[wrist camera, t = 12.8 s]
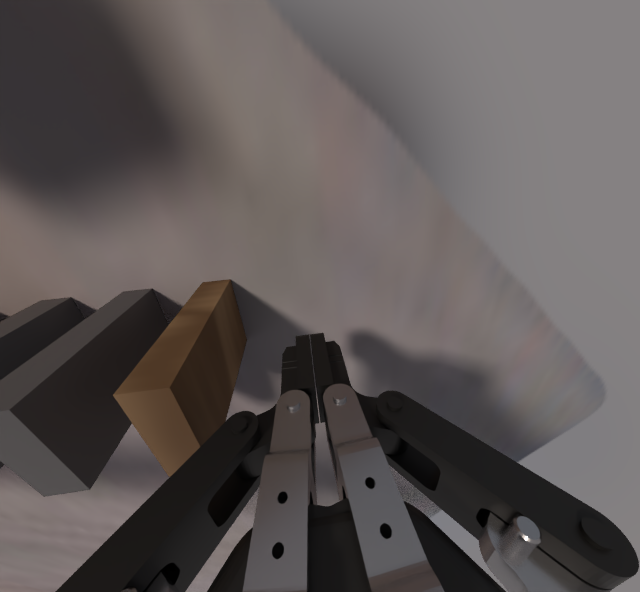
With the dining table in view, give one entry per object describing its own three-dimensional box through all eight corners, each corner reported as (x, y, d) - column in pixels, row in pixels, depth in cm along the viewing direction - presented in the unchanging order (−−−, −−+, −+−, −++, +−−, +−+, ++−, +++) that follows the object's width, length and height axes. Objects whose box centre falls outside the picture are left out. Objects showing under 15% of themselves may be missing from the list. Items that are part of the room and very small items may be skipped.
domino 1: (82, 360, 18) (-89, 517, 10) (40, 300, 15) (-231, 441, 7) (108, 357, 18) (-40, 509, 10) (71, 297, 15) (-165, 433, 7)
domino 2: (153, 351, 18) (44, 496, 10) (123, 291, 16) (-52, 417, 8) (178, 348, 18) (89, 489, 10) (152, 288, 16) (9, 409, 8)
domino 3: (222, 342, 18) (168, 476, 10) (202, 282, 16) (112, 395, 8) (246, 339, 18) (212, 470, 10) (230, 279, 16) (169, 387, 8)
